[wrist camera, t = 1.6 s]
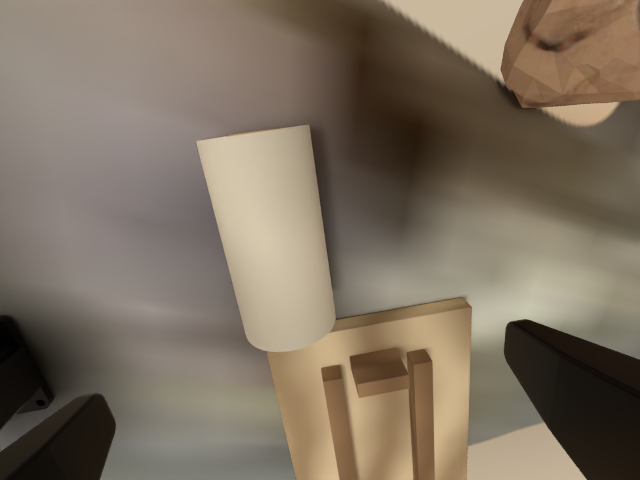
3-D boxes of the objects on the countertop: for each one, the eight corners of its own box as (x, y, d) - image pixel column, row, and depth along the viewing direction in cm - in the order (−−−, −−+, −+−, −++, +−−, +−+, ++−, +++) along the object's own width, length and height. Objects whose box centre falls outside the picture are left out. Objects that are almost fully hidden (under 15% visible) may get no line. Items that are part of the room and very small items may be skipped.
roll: (346, 301, 19) (317, 359, 15) (272, 296, 21) (227, 346, 17) (324, 121, 16) (278, 128, 11) (237, 133, 18) (169, 143, 13)
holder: (307, 513, 27) (310, 569, 23) (265, 332, 21) (262, 372, 17) (458, 481, 28) (482, 531, 24) (461, 297, 21) (495, 329, 18)
